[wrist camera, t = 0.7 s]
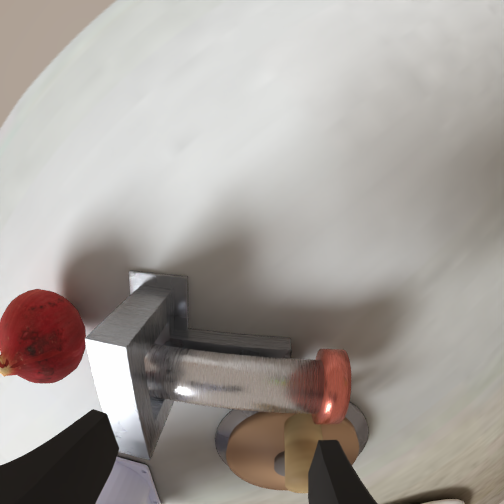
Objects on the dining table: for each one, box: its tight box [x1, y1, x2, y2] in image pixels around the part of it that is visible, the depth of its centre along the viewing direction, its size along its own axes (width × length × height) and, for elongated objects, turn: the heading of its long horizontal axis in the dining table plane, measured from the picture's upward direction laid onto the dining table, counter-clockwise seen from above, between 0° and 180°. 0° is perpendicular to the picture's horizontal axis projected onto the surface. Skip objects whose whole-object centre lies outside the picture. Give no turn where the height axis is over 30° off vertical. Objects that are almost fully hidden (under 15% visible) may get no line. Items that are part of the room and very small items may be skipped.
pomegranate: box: [0, 289, 86, 383], centre depth 15 cm, size 6×6×8 cm
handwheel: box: [226, 412, 359, 493], centre depth 17 cm, size 10×10×6 cm
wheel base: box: [215, 402, 368, 466], centre depth 20 cm, size 12×12×1 cm
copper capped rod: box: [144, 344, 351, 424], centre depth 15 cm, size 4×13×4 cm, turn 87°
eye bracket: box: [85, 271, 291, 460], centre depth 15 cm, size 9×10×7 cm
